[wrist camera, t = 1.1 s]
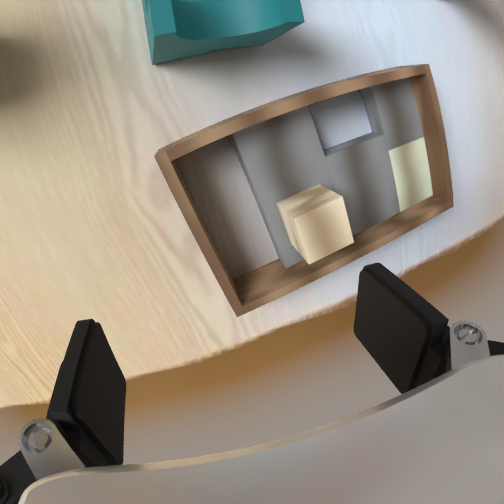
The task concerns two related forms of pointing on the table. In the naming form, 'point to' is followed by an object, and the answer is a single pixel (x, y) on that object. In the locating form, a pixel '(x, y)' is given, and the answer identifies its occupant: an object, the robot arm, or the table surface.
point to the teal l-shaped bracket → (214, 25)
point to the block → (316, 222)
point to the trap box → (328, 174)
